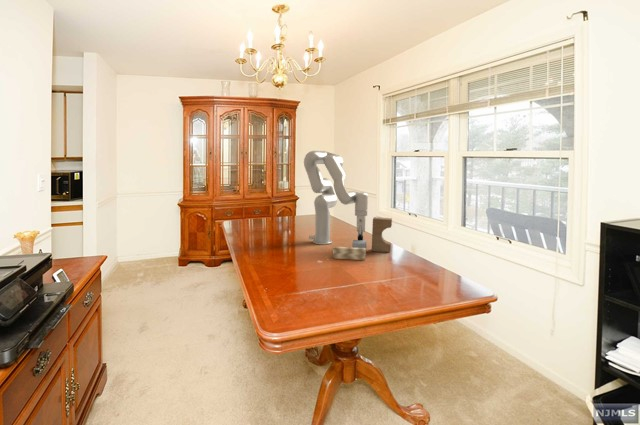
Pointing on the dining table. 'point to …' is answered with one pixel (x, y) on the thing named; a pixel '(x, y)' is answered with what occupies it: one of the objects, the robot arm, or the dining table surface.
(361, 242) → the block
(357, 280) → the dining table surface
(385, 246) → the decorative block
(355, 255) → the board
